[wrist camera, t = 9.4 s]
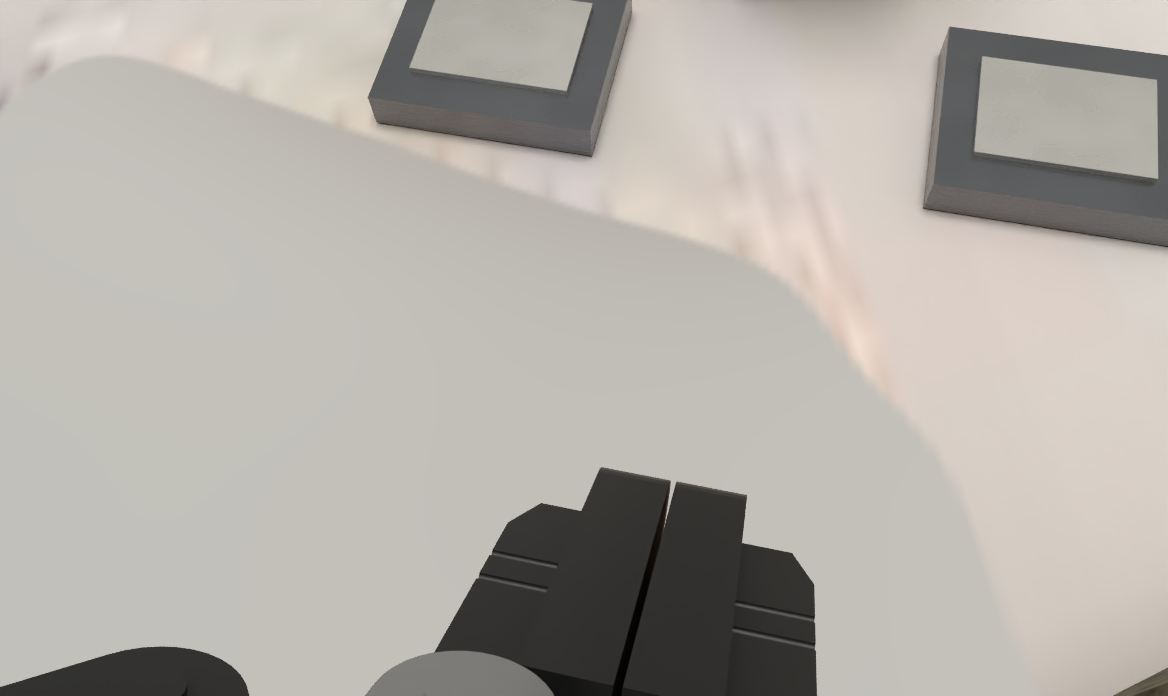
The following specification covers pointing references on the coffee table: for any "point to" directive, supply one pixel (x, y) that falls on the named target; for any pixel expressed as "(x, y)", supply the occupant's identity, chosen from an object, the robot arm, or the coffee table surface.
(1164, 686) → the ring-handled stone jug
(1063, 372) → the coffee table surface
